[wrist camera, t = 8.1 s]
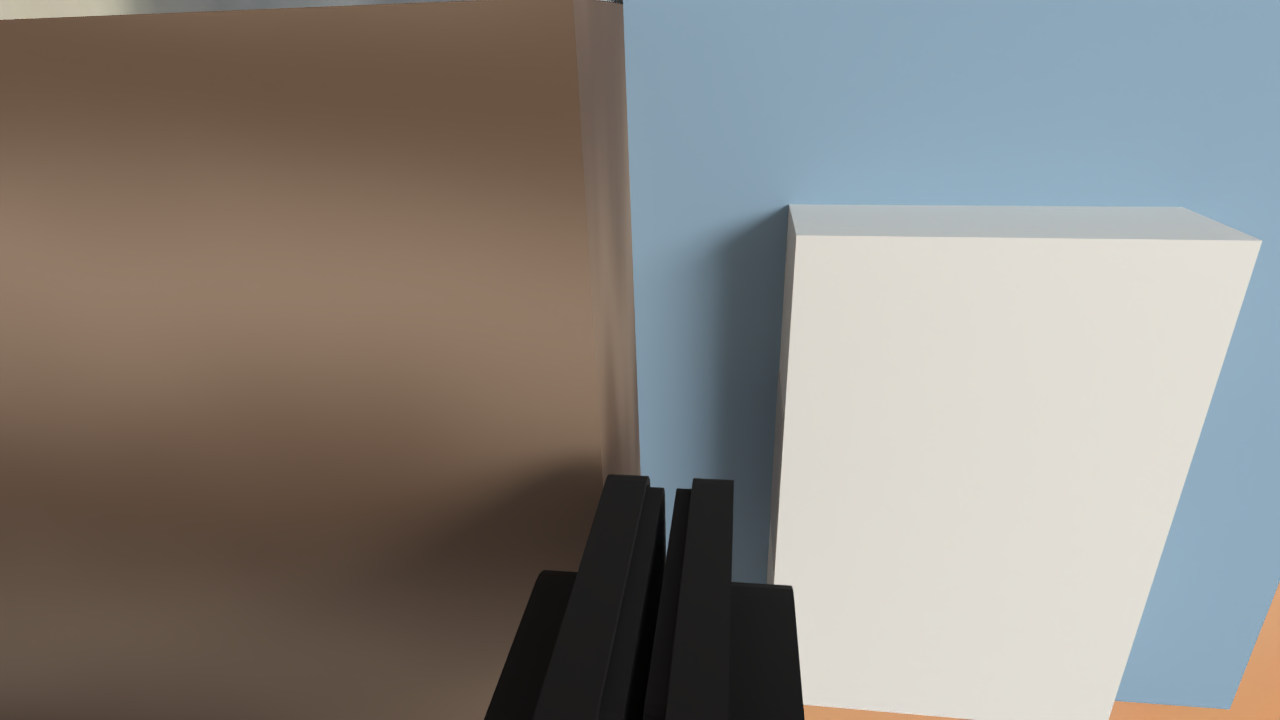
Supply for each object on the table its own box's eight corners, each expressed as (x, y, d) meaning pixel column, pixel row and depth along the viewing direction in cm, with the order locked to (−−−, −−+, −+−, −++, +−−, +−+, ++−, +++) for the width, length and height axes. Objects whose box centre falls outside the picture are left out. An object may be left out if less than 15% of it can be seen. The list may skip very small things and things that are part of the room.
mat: (624, -32, 12) (621, -33, 11) (1515, -72, 10) (1536, -76, 10) (649, 655, 17) (647, 666, 17) (1221, 697, 16) (1229, 709, 15)
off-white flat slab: (1263, 240, 10) (1183, 206, 12) (794, 235, 11) (787, 204, 12) (1105, 730, 14) (1063, 647, 15) (765, 701, 14) (762, 624, 16)
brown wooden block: (-326, 41, 14) (-695, 48, 10) (625, 4, 12) (572, -4, 8) (-31, 620, 20) (-206, 754, 16) (650, 672, 17) (624, 842, 14)
